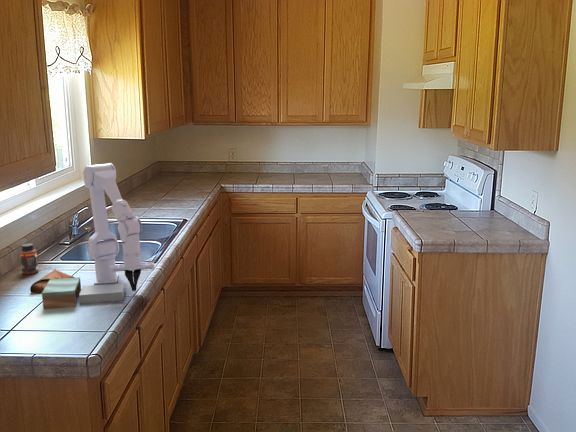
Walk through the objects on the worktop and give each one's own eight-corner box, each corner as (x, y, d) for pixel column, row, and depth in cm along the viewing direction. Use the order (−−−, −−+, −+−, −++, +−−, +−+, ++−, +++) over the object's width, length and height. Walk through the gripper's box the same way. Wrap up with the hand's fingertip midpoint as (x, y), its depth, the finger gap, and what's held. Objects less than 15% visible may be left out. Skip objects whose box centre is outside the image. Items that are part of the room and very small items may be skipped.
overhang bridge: (51, 294, 194) (49, 279, 193) (81, 292, 196) (80, 277, 195) (43, 308, 181) (41, 293, 180) (75, 306, 183) (74, 290, 182)
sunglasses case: (53, 293, 195) (42, 277, 194) (38, 302, 196) (26, 287, 195) (75, 276, 212) (65, 262, 211) (60, 285, 213) (50, 270, 212)
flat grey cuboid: (83, 294, 194) (82, 285, 194) (124, 290, 197) (124, 282, 197) (79, 303, 186) (79, 295, 185) (123, 300, 189) (122, 291, 188)
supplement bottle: (42, 271, 218) (39, 243, 216) (29, 275, 213) (26, 247, 210) (31, 269, 221) (28, 241, 218) (18, 273, 216) (15, 245, 213)
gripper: (108, 257, 185) (111, 295, 188) (153, 254, 188) (155, 292, 191) (110, 251, 192) (113, 288, 195) (153, 249, 195) (155, 285, 198)
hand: (134, 290), depth 193 cm, fingers closed
